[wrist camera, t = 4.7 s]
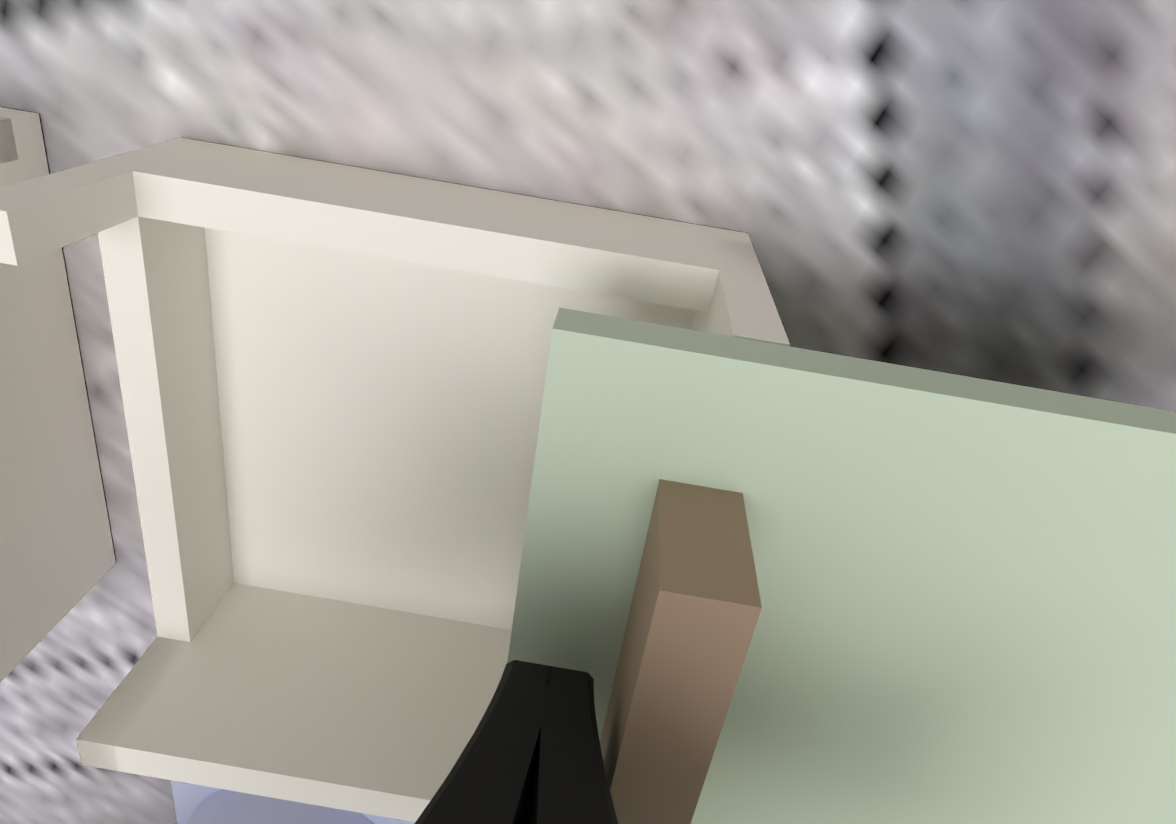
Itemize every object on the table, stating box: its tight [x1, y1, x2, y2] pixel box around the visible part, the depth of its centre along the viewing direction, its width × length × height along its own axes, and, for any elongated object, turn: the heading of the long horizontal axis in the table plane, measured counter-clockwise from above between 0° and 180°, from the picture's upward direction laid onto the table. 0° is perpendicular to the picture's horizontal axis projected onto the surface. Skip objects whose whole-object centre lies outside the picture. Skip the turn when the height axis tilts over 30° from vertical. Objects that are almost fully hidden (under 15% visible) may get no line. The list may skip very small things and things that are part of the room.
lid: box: [507, 307, 1176, 824], centre depth 12 cm, size 12×12×3 cm
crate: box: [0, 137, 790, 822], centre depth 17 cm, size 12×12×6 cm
